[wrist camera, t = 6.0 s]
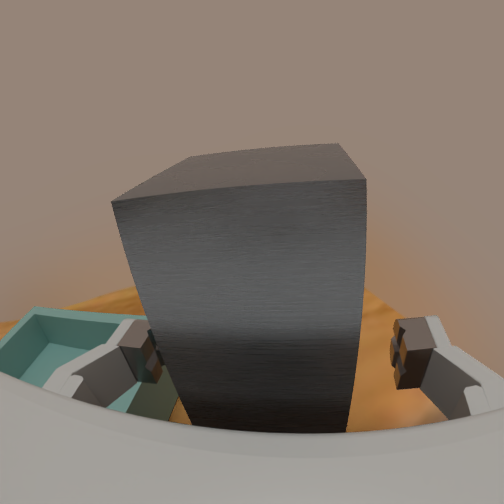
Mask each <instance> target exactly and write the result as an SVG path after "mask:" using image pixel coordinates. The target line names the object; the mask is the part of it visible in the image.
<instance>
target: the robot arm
mask: <svg viewBox="0 0 504 504" xmlns="http://www.w3.org/2000/svg"><path fill="white" fill-rule="evenodd" d="M393 330H394V334H395V336H394V337H393V338H392V339H391V344H390V360H391V365H392V366H393V367H394V368H395V371H394V379H395V384H396V389H397V390H400V389H412V388H420V389H421V390H422V392H423V393H424V394H425V395H426V396H427V397H428V398H429V399H430V400H431V401H432V402H433V403H434V404H435V405H436V406H437V407H438V408H439V409H440V411H441V412H442V413H443V414H444V415H445V416H446V417H447V418H448V421H443V422H437V423H431V424H425V425H419V426H412V427H404V428H396V429H387V430H376V431H364V432H348V433H316V434H298V433H266V432H250V431H237V430H227V429H217V428H209V427H201V426H194V425H187V424H181V423H174V422H169V421H163V420H158V419H152V418H147V417H143V416H138V415H133V414H129V413H124V412H120V411H116V410H112V409H108V408H106V407H108V406H109V405H110V404H111V403H113V402H114V401H115V400H117V399H118V398H119V397H120V396H122V395H123V394H124V393H125V392H127V391H128V390H129V389H130V388H132V387H133V386H134V385H135V384H137V382H143V383H151V384H157V383H158V381H159V379H160V377H161V375H162V373H163V369H162V366H164V365H165V363H164V361H163V358H162V356H161V353H160V351H159V348H158V346H157V343H156V341H155V338H154V335H153V333H152V330H151V328H150V325H149V322H148V320H141V319H128V318H127V319H124V320H123V321H122V322H121V324H120V325H119V326H118V328H117V329H116V330H115V332H114V333H113V334H112V336H111V337H110V338H109V340H108V341H107V343H106V344H101V345H99V346H97V347H96V348H94V349H92V350H90V351H88V352H86V353H85V354H83V355H81V356H79V357H77V358H75V359H74V360H72V361H70V362H68V363H66V364H64V365H62V366H61V367H59V368H57V369H56V370H55V371H54V372H53V374H52V375H51V376H50V378H49V379H48V380H47V382H46V383H45V384H44V386H43V387H42V388H40V387H38V386H35V385H32V384H30V383H27V382H25V381H22V380H19V379H17V378H15V377H12V376H10V375H7V374H5V373H3V372H0V504H504V379H503V378H502V377H501V376H499V375H498V374H496V373H495V372H493V371H492V370H491V369H489V368H488V367H486V366H484V365H483V364H482V363H480V362H479V361H477V360H476V359H475V358H473V357H472V356H470V355H469V354H467V353H466V352H464V351H463V350H461V349H460V348H458V347H457V346H452V345H451V343H450V341H449V339H448V336H447V334H446V332H445V330H444V328H443V326H442V324H441V321H440V320H439V317H438V316H437V315H433V316H424V317H418V318H407V319H396V320H395V322H394V327H393Z"/></svg>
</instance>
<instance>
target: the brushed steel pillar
mask: <svg viewBox="0 0 504 504" xmlns="http://www.w3.org/2000/svg"><path fill="white" fill-rule="evenodd" d="M366 193H367V190H366V178H365V177H364V175H363V174H362V173H361V171H360V170H359V169H358V167H357V166H356V165H355V164H354V162H353V161H352V160H351V158H350V157H349V156H348V155H347V153H346V152H345V151H344V150H343V148H342V147H341V146H340V145H339V144H317V145H316V144H315V145H299V146H284V147H271V148H260V149H250V150H241V151H232V152H223V153H215V154H207V155H200V156H193V157H189V158H187V159H185V160H183V161H181V162H180V163H178V164H176V165H174V166H172V167H170V168H168V169H166V170H164V171H163V172H161V173H159V174H157V175H155V176H154V177H152V178H150V179H149V180H147V181H145V182H143V183H141V184H139V185H138V186H136V187H134V188H133V189H131V190H129V191H128V192H126V193H125V194H122V195H121V196H119V197H117V198H116V199H114V200H113V201H111V203H112V207H113V211H114V215H115V218H116V222H117V226H118V229H119V233H120V237H121V240H122V243H123V247H124V250H125V254H126V257H127V260H128V263H129V266H130V270H131V273H132V276H133V279H134V282H135V285H136V288H137V291H138V294H139V297H140V300H141V303H142V306H143V308H144V311H145V314H146V317H147V319H148V322H149V325H150V328H151V330H152V333H153V335H154V338H155V341H156V343H157V346H158V348H159V351H160V353H161V356H162V358H163V361H164V363H165V365H166V368H167V370H168V372H169V375H170V377H171V379H172V382H173V384H174V386H175V389H176V391H177V393H178V395H179V397H180V400H181V402H182V404H183V406H184V408H185V410H186V413H187V415H188V417H189V419H190V421H191V423H192V425H194V426H201V427H209V428H217V429H227V430H237V431H250V432H266V433H298V434H316V433H345V432H346V427H347V422H348V416H349V411H350V405H351V399H352V392H353V386H354V379H355V372H356V364H357V356H358V348H359V339H360V329H361V319H362V307H363V294H364V278H365V259H366V221H367V220H366V219H367V217H366V216H367V201H366V200H367V198H366V197H367V196H366V195H367V194H366Z"/></svg>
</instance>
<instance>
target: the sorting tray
mask: <svg viewBox="0 0 504 504" xmlns="http://www.w3.org/2000/svg"><path fill="white" fill-rule="evenodd" d="M127 318H128V319H141V320H148V319H147V317H146V316H139V315H123V314H109V313H96V312H84V311H73V310H63V309H53V308H44V307H33V308H32V309H31V310H30V311H29V312H28V313H27V314H26V315H25V316H24V317H23V318H22V319H21V320H20V321H19V322H18V323H17V324H16V325H15V326H14V327H13V328H12V329H11V330H10V331H9V332H8V333H7V334H6V335H5V336H4V337H3V338H2V340H1V341H0V372H3V373H5V374H7V375H10V376H12V377H15V378H17V379H19V380H22V381H25V382H27V383H30V384H32V385H35V386H38V387H40V388H42V387H43V386H44V384H45V383H46V382H47V380H48V379H49V378H50V376H51V375H52V374H53V372H54V371H55V370H56V369H57V368H59V367H61V366H62V365H64V364H66V363H68V362H70V361H72V360H74V359H75V358H77V357H79V356H81V355H83V354H85V353H86V352H88V351H90V350H92V349H94V348H96V347H97V346H99V345H101V344H106V343H107V341H108V340H109V338H110V337H111V336H112V334H113V333H114V332H115V330H116V329H117V328H118V326H119V325H120V324H121V322H122V321H123V320H124V319H127ZM162 369H163V373H162V375H161V377H160V379H159V381H158V383H157V384H151V383H143V382H137V384H135V385H134V386H133V387H132V388H130V389H129V390H128V391H127V392H125V393H124V394H123V395H122V396H120V397H119V398H118V399H117V400H115V401H114V402H113V403H111V404H110V405H109V406H108V407H106V408H108V409H112V410H116V411H120V412H124V413H129V414H133V415H138V416H143V417H147V418H152V419H158V420H163V421H168V420H169V417H170V415H171V412H172V410H173V408H174V405H175V403H176V400H177V398H178V396H179V395H178V393H177V391H176V389H175V386H174V384H173V382H172V379H171V377H170V375H169V372H168V370H167V368H166V365H164V366H162Z"/></svg>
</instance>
